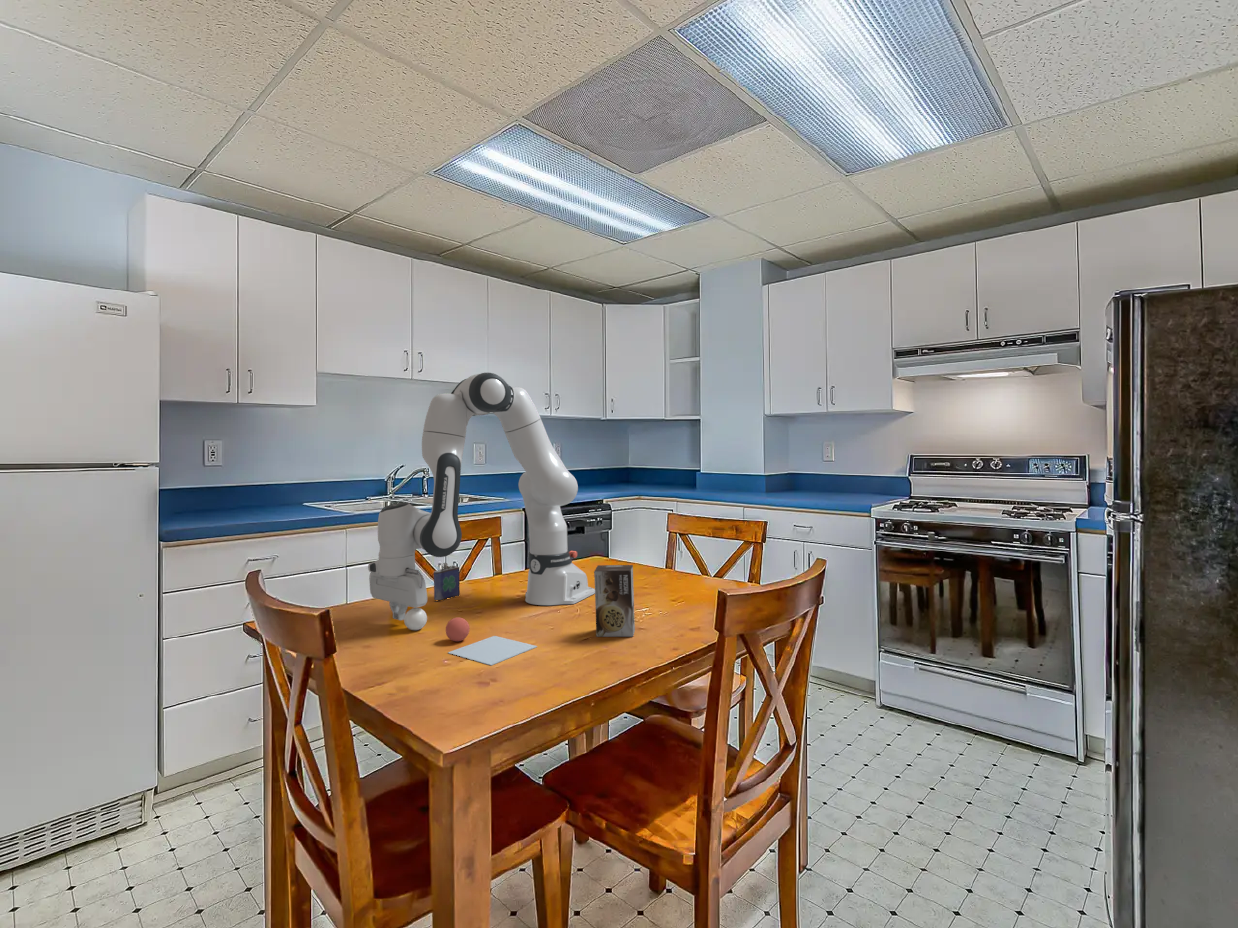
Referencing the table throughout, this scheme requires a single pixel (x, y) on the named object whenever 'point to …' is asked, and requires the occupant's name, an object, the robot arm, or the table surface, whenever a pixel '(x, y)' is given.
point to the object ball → (457, 629)
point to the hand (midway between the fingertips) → (399, 619)
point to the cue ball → (415, 619)
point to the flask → (446, 582)
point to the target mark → (492, 650)
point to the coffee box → (614, 601)
